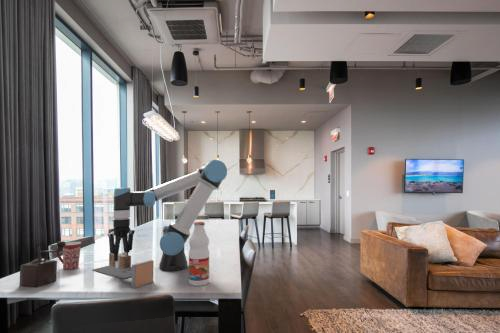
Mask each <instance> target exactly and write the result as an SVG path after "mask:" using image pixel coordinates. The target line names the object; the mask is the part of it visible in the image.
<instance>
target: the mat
mask: <svg viewBox="0 0 500 333" xmlns="http://www.w3.org/2000/svg"><path fill="white" fill-rule="evenodd" d="M92 271H93V272H97V273H99V272H100V274H103V275H106V276H109V277H113V278H116V279H119V280H122V281H124V280H126V279H131V278H132V275H131V274H128V273H124V272H121V271H120V268H116V267H113V266H109V265H106V266H102V267H97V268H94V269H92Z"/></svg>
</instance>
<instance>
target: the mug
mask: <svg viewBox="0 0 500 333" xmlns="http://www.w3.org/2000/svg"><path fill="white" fill-rule="evenodd" d="M65 243H66V245H65V246H64V247H63V251H62V257H61V255H60V252H55V253H56V256H57V258H58V260H59V261H60V262H61V264H62V269H63V270H64V269H66V270H68V271H69V270H70V269H71V270H75V268H76V269H78V268H79V267H80V265H79V264H80V254H81V246H82V242H80V241H69V242H65ZM66 270H65V271H66Z"/></svg>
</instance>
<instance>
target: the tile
mask: <svg viewBox="0 0 500 333" xmlns="http://www.w3.org/2000/svg"><path fill="white" fill-rule="evenodd" d="M131 267H132V277H131V288H132V289H137V288H141V287H143V286H146V285H149V284H151V283H154V260H153V259H149V260H145V261H142V262H139V263H138V262H137V263H134V264H131Z"/></svg>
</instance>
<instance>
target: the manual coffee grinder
mask: <svg viewBox="0 0 500 333" xmlns="http://www.w3.org/2000/svg"><path fill="white" fill-rule="evenodd" d="M66 243H67V242H65V241H64V240H63V241H61V240H59V241H58V242H57V243H56V246H57V248H56V250H42V247H40V246H39V247H38V248H37V252H38V254H37V255H38V256H37V258H36V259H33V260H32V261H31V262H27V263H24V264H20V266H19V283H18V285H19V286H20V285H21V286H20V287H27V286H28V287H29V288H30V287H31V288H39V286H40V287H42V286H45V285H48V284H51V283H53V282H54V281H56V280H57V279H58V278H57V273H58V272H57V270H58V263H57V262H58V261H57V260H55V259H54V260H53V259H52V260H51V259H47V258H44V257H42V255H41V253H42V254H43V253H56V252H59V253H60V252H63V247H64V246H65V245H66Z"/></svg>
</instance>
